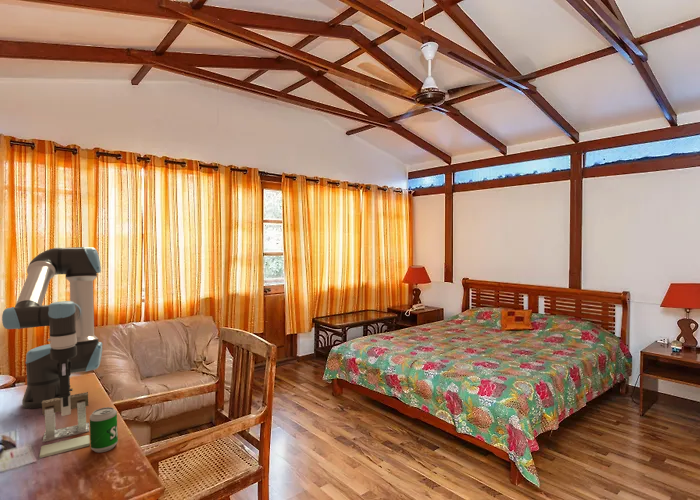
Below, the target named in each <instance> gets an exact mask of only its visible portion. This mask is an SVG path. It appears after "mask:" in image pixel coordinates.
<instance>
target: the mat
mask: <svg viewBox="0 0 700 500" xmlns="http://www.w3.org/2000/svg"><path fill="white" fill-rule="evenodd" d="M89 446H90V447H91V440H90V435H89V434H88V435H83V436H78V437H74V438H70V439H66V440H65V439H64V440H61V441H57V442H53V443H49V444H44V445H41V447H40V451H39V455H38V456H39V458H40V459H41V458H46V457H50V456H53V455H58V454H61V453H65V452H70V451H73V450H77V449H82V448H86V447H89Z"/></svg>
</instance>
